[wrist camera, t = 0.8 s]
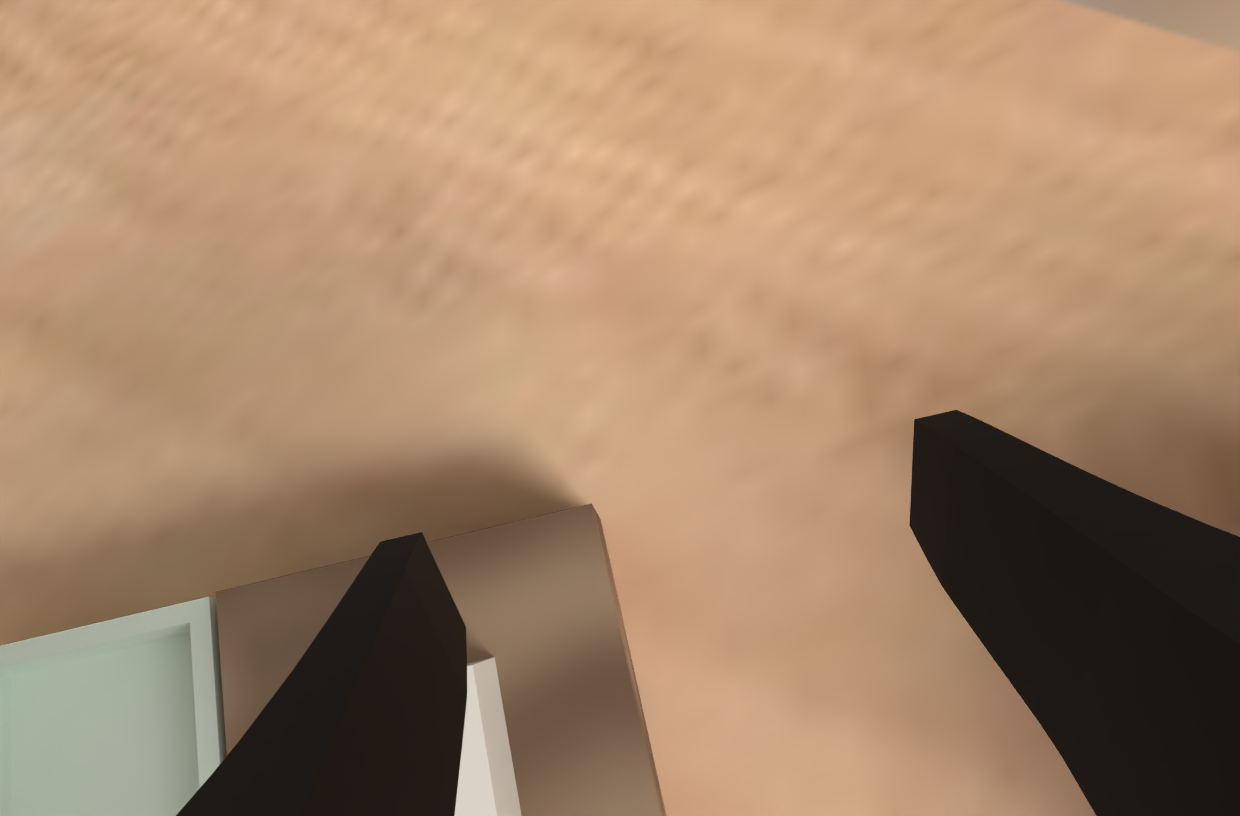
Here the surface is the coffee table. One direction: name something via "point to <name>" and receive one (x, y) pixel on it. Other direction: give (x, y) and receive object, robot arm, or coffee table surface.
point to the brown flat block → (491, 655)
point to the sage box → (113, 715)
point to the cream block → (485, 749)
